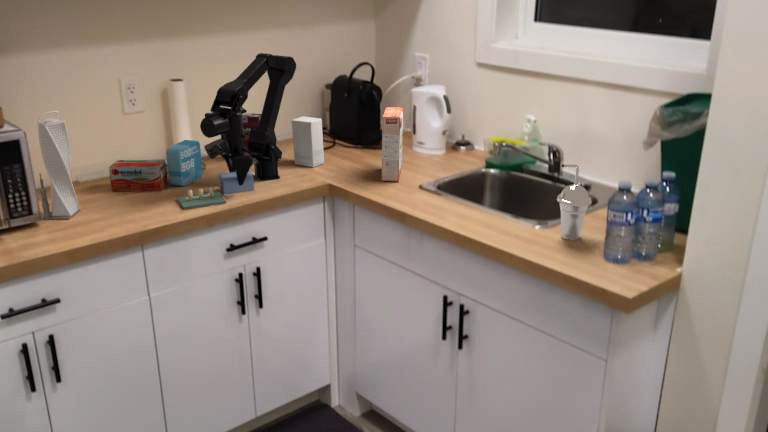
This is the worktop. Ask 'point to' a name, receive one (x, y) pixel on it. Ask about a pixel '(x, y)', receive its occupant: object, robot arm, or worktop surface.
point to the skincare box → (308, 141)
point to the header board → (201, 199)
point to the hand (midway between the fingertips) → (236, 180)
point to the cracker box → (392, 143)
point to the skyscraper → (57, 169)
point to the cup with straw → (573, 208)
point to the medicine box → (138, 175)
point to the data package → (184, 162)
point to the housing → (235, 183)
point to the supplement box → (249, 127)
